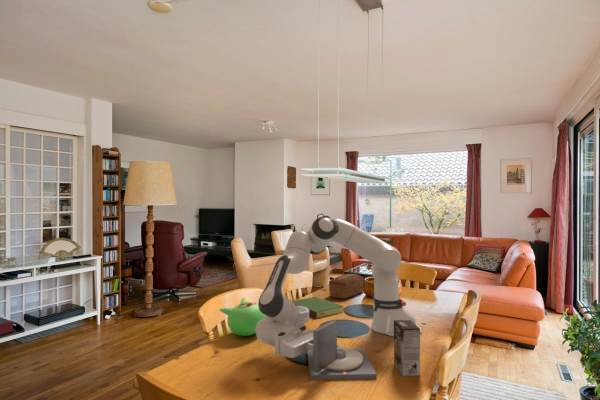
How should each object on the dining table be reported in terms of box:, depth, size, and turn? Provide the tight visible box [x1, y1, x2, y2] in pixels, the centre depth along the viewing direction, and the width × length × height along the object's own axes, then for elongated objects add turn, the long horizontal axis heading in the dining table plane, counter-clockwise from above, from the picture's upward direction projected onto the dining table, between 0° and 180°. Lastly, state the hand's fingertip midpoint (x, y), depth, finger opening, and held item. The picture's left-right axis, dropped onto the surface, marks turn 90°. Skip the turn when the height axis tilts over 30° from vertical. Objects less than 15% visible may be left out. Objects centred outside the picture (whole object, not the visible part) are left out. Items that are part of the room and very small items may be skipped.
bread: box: [328, 273, 365, 300], centre depth 239 cm, size 14×28×12 cm, turn 143°
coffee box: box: [393, 320, 421, 377], centre depth 131 cm, size 9×6×16 cm
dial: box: [313, 319, 363, 373], centre depth 132 cm, size 24×17×15 cm
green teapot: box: [219, 297, 267, 337], centre depth 167 cm, size 18×17×15 cm
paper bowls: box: [294, 306, 310, 329], centre depth 178 cm, size 15×15×8 cm
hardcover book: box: [290, 296, 344, 319], centre depth 205 cm, size 25×19×4 cm
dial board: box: [306, 347, 377, 381], centre depth 135 cm, size 22×22×2 cm
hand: (322, 347), depth 128 cm, fingers closed
